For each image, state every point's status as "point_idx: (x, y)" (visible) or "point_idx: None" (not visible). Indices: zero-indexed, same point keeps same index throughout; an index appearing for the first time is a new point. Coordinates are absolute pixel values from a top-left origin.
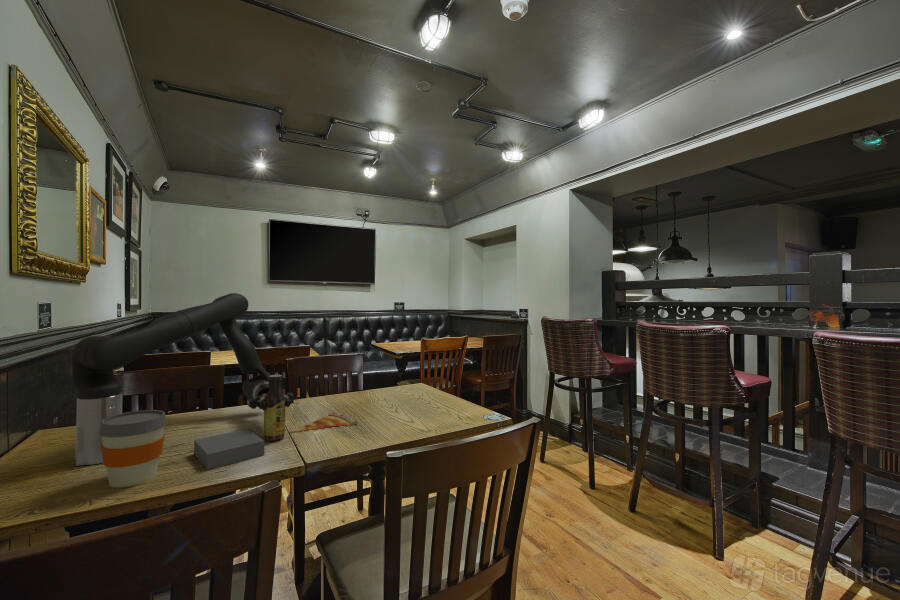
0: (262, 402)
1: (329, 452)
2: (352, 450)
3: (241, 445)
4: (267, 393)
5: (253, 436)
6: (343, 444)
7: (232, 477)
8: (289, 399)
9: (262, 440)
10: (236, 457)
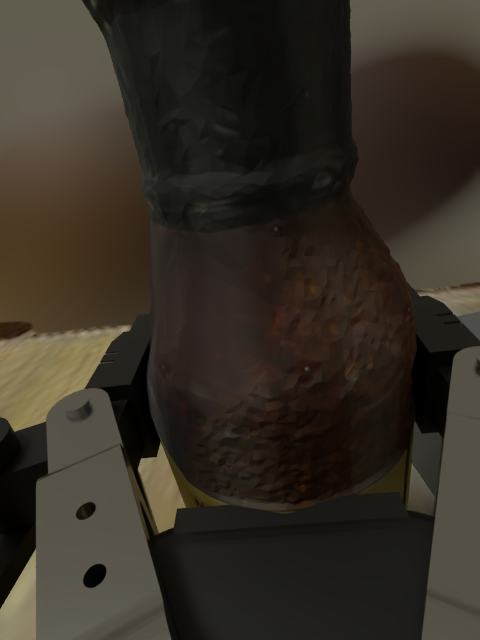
0: (425, 305)
1: None
2: (93, 341)
3: (461, 322)
4: (371, 225)
5: None
6: (73, 381)
7: None
8: (98, 371)
9: None
10: None
